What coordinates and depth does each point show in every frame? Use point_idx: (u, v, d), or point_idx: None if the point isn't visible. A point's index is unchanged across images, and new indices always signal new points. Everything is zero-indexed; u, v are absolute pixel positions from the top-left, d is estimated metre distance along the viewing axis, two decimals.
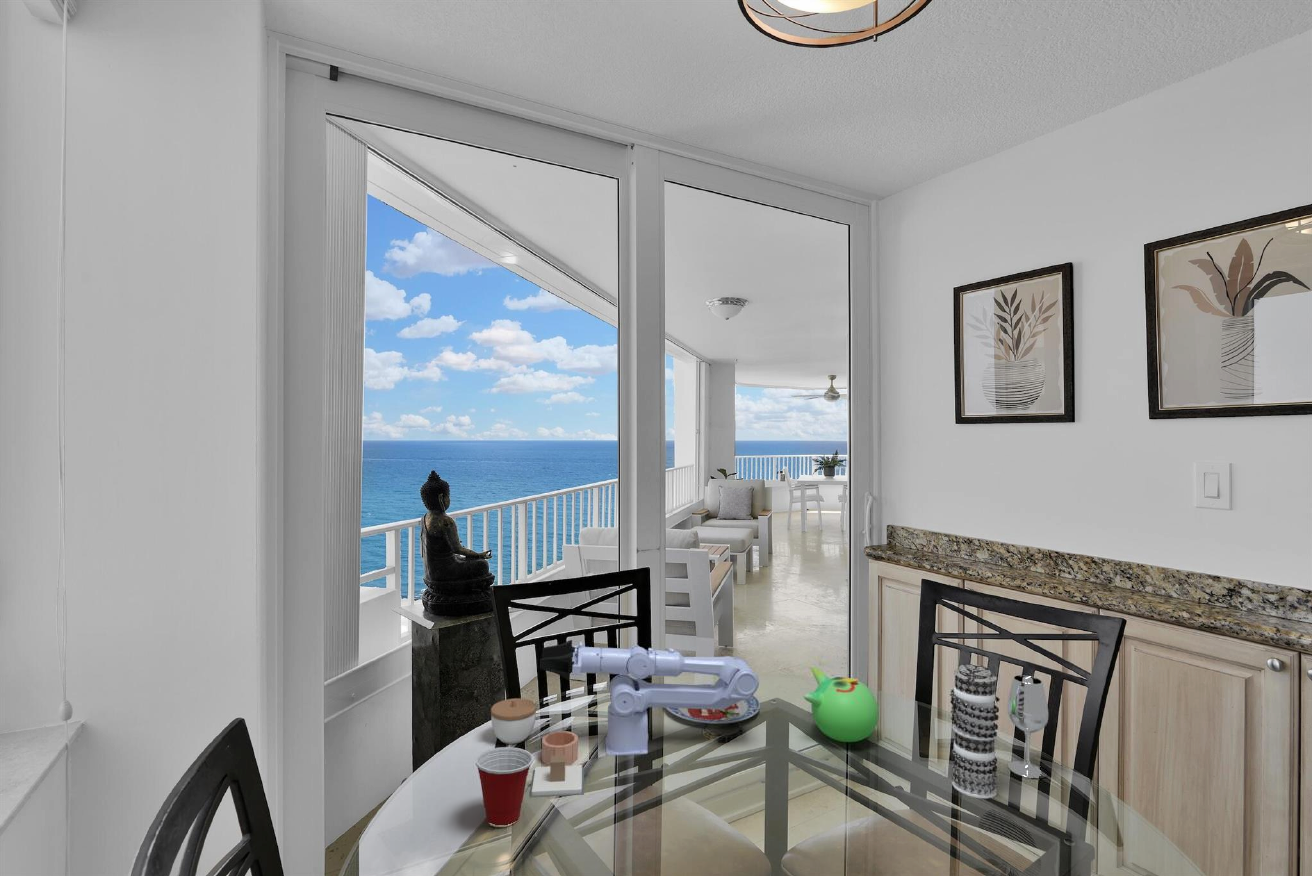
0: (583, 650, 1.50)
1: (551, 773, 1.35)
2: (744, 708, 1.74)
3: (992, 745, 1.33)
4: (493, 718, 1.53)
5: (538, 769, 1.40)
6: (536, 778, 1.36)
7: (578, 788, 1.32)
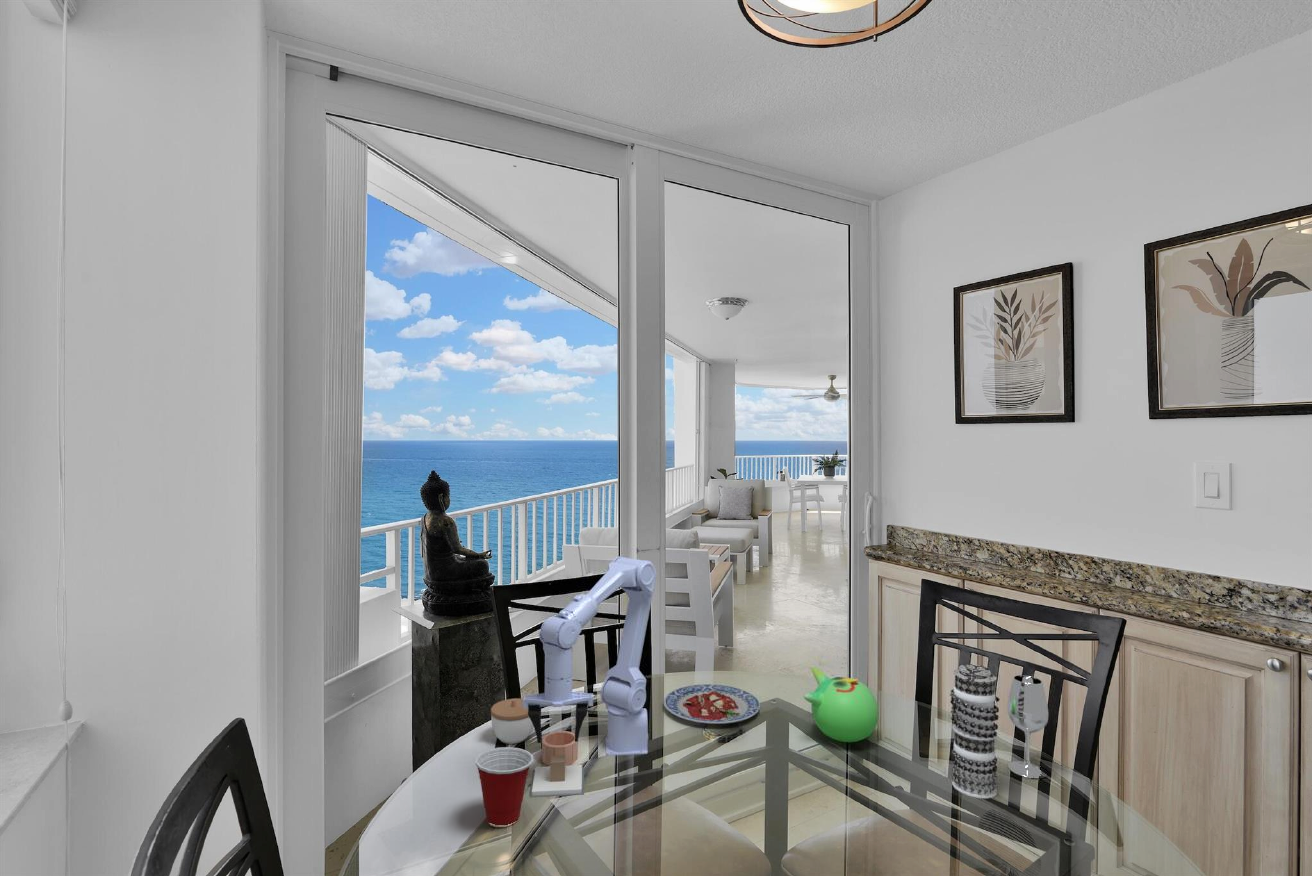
0: (563, 699, 1.34)
1: (551, 773, 1.35)
2: (744, 708, 1.74)
3: (992, 745, 1.33)
4: (493, 718, 1.53)
5: (538, 769, 1.40)
6: (536, 778, 1.36)
7: (578, 788, 1.32)
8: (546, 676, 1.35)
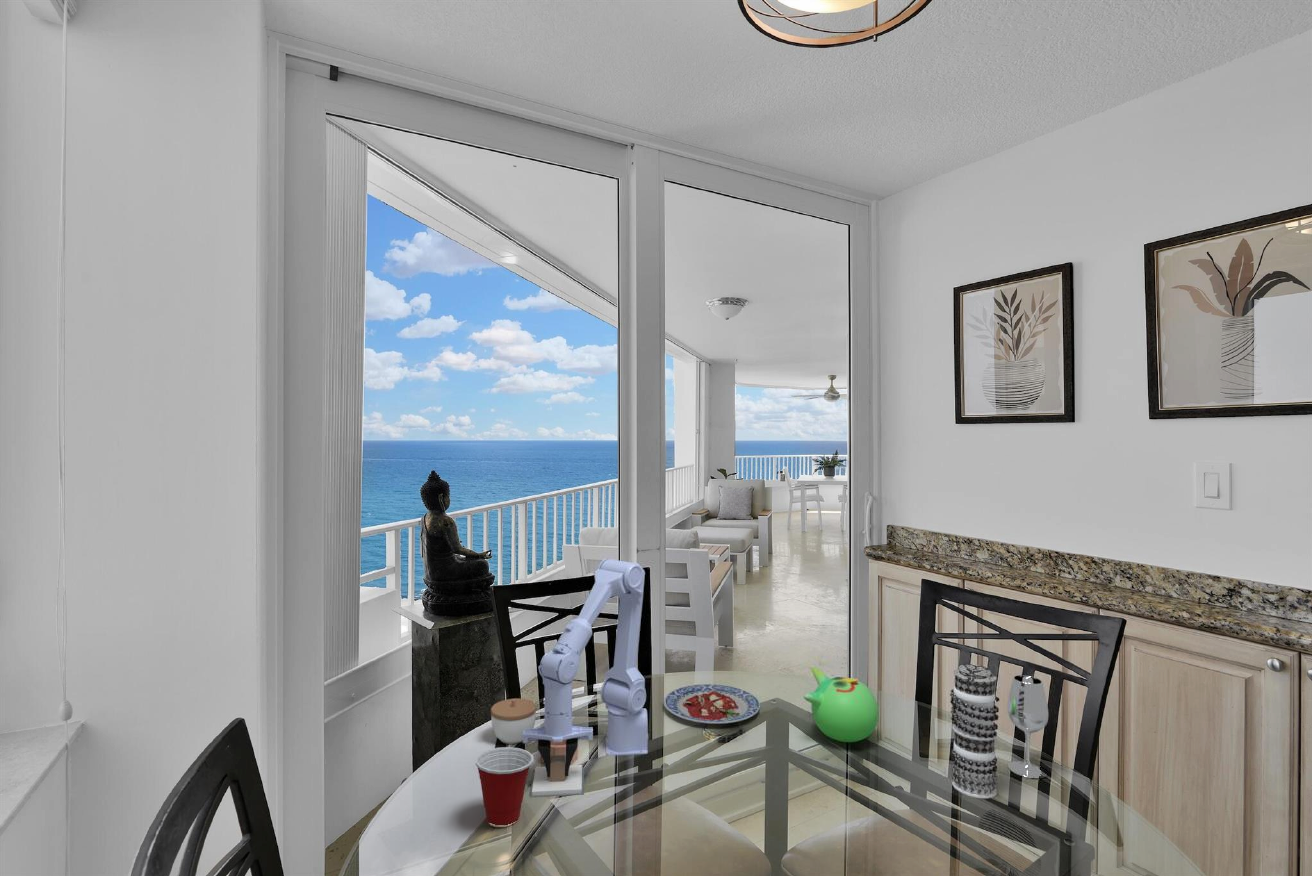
0: (563, 734, 1.34)
1: (551, 773, 1.35)
2: (744, 708, 1.74)
3: (992, 745, 1.33)
4: (493, 718, 1.53)
5: (538, 769, 1.40)
6: (536, 778, 1.36)
7: (578, 788, 1.32)
8: (546, 711, 1.35)
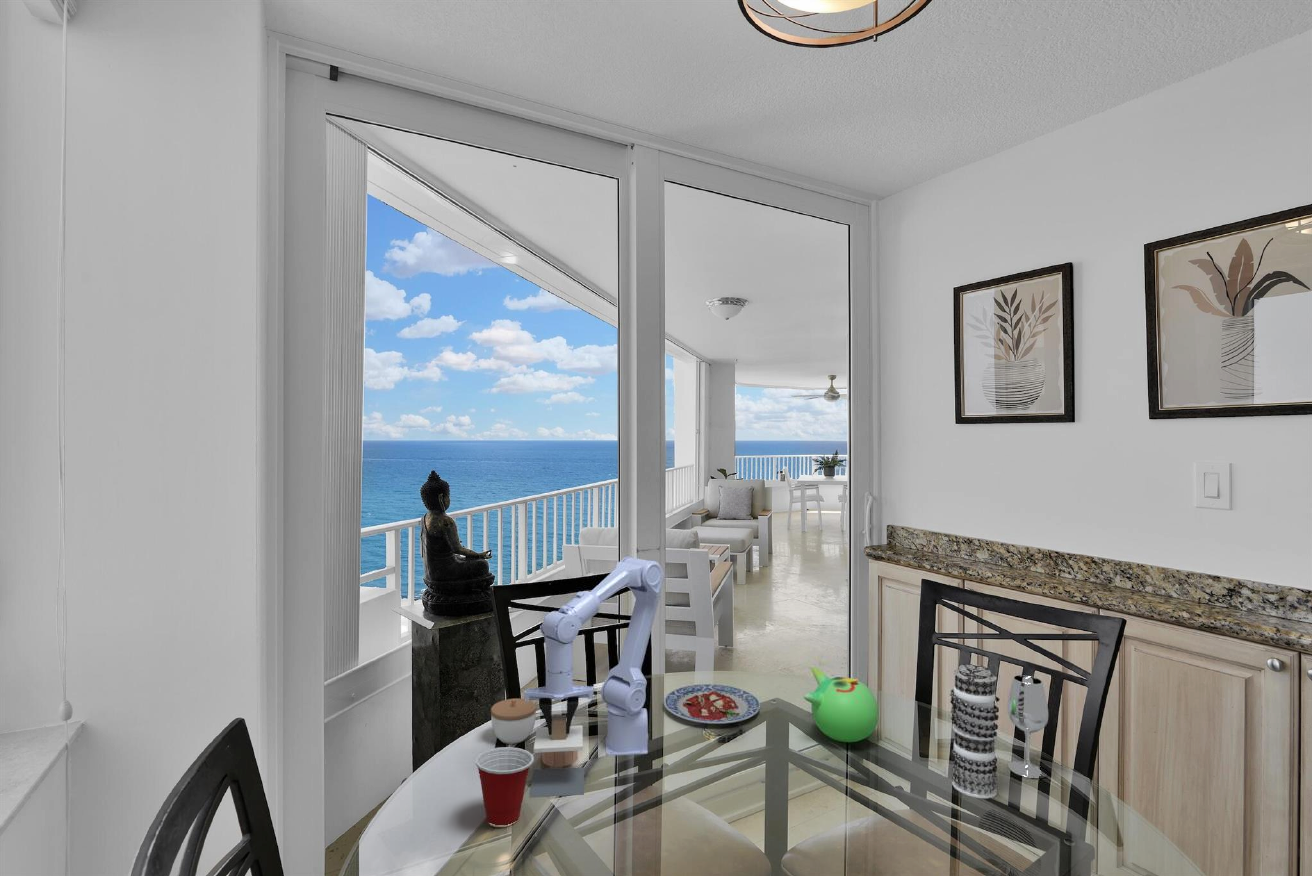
0: (564, 692, 1.37)
1: (552, 731, 1.38)
2: (744, 708, 1.74)
3: (992, 745, 1.33)
4: (493, 718, 1.53)
5: (539, 729, 1.43)
6: (538, 737, 1.39)
7: (579, 745, 1.35)
8: (546, 669, 1.38)
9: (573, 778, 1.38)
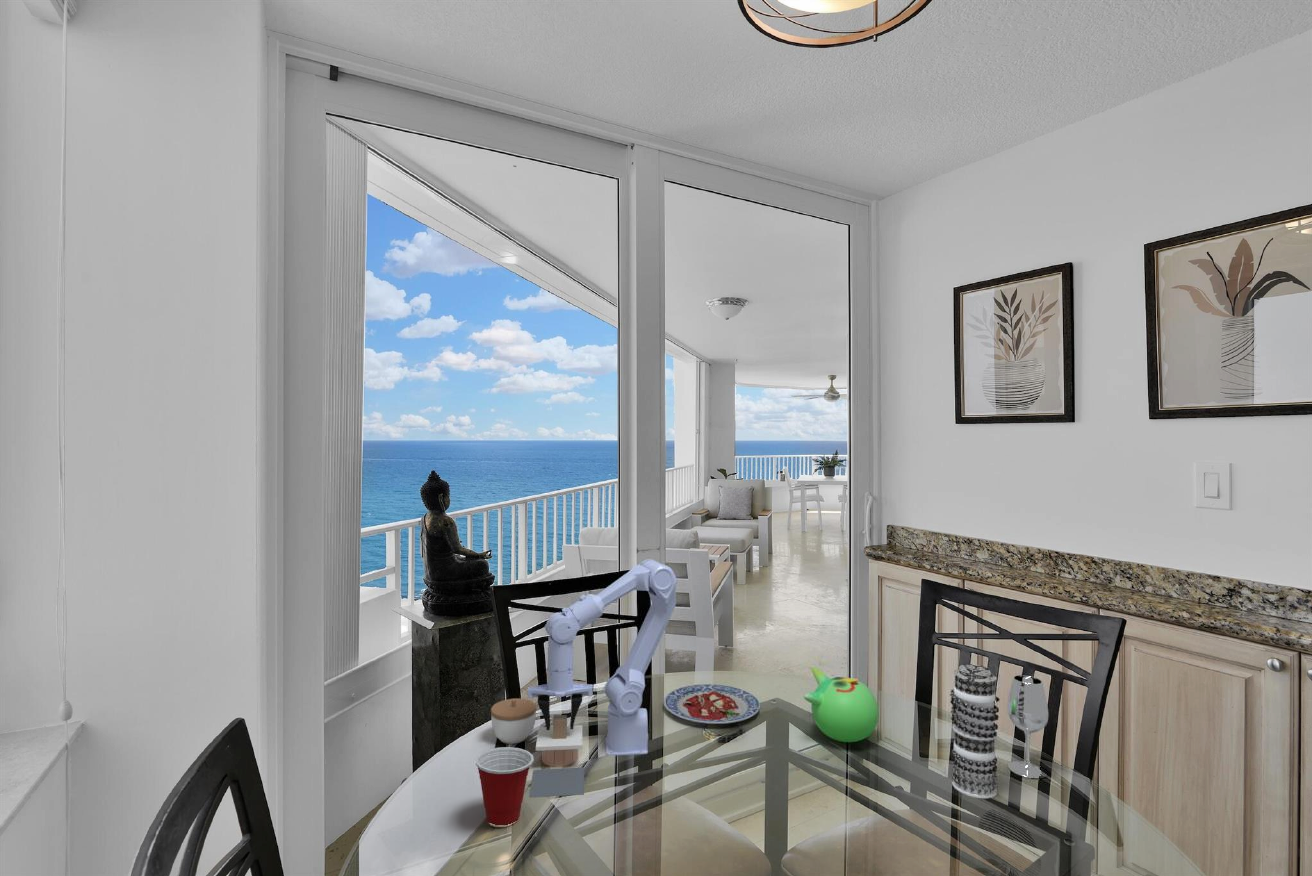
0: (565, 689, 1.44)
1: (554, 731, 1.45)
2: (744, 708, 1.74)
3: (992, 745, 1.33)
4: (493, 718, 1.53)
5: (541, 728, 1.50)
6: (540, 736, 1.46)
7: (579, 744, 1.42)
8: None
9: (573, 778, 1.38)
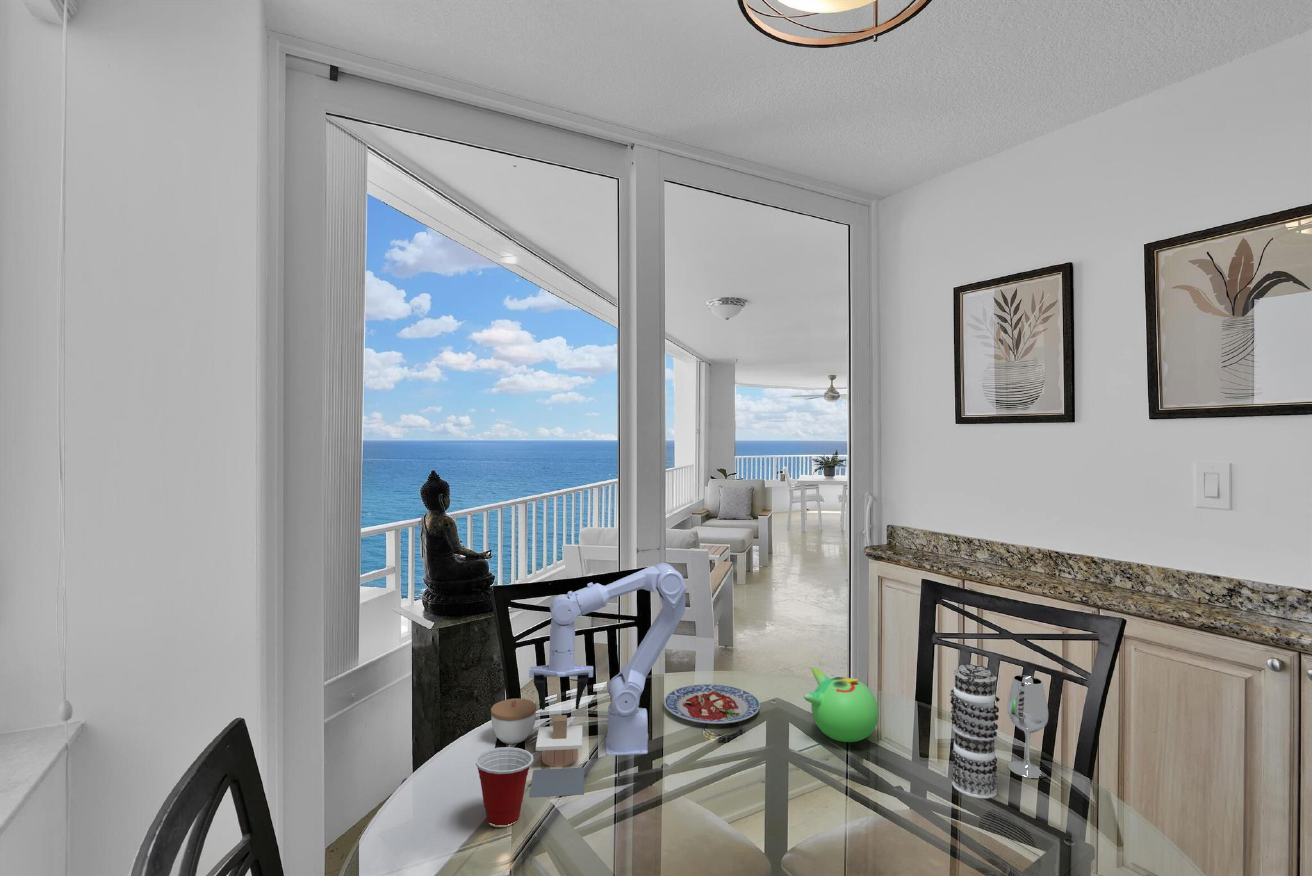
0: (566, 669, 1.47)
1: (554, 731, 1.45)
2: (744, 708, 1.74)
3: (992, 745, 1.33)
4: (493, 718, 1.53)
5: (541, 728, 1.50)
6: (540, 736, 1.46)
7: (579, 744, 1.42)
8: None
9: (573, 778, 1.38)
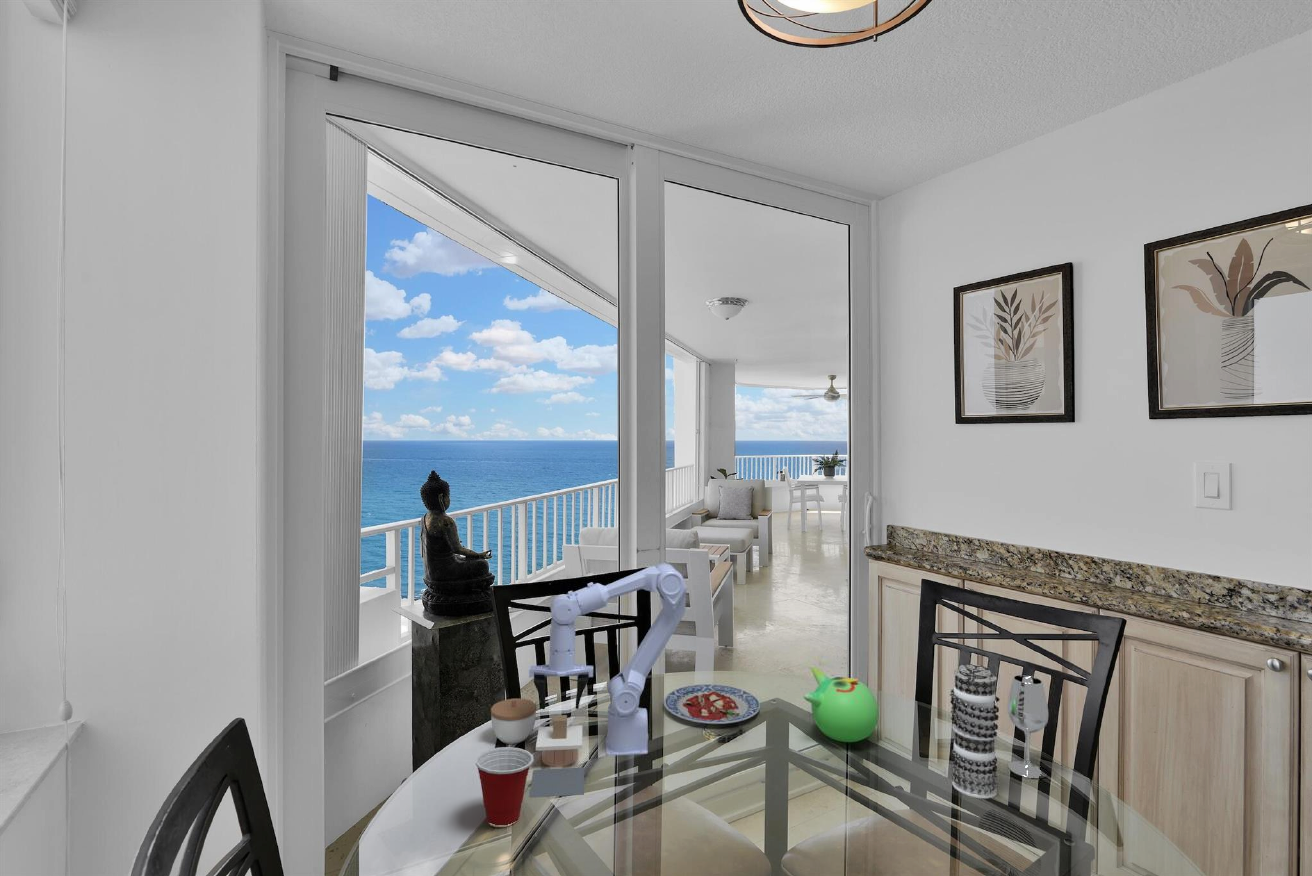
0: (566, 669, 1.47)
1: (554, 731, 1.45)
2: (744, 708, 1.74)
3: (992, 745, 1.33)
4: (493, 718, 1.53)
5: (541, 728, 1.50)
6: (540, 736, 1.46)
7: (579, 744, 1.42)
8: None
9: (573, 778, 1.38)
